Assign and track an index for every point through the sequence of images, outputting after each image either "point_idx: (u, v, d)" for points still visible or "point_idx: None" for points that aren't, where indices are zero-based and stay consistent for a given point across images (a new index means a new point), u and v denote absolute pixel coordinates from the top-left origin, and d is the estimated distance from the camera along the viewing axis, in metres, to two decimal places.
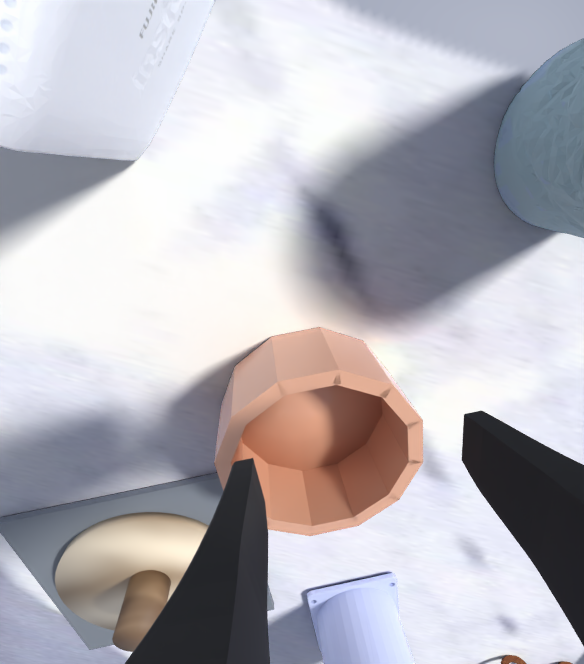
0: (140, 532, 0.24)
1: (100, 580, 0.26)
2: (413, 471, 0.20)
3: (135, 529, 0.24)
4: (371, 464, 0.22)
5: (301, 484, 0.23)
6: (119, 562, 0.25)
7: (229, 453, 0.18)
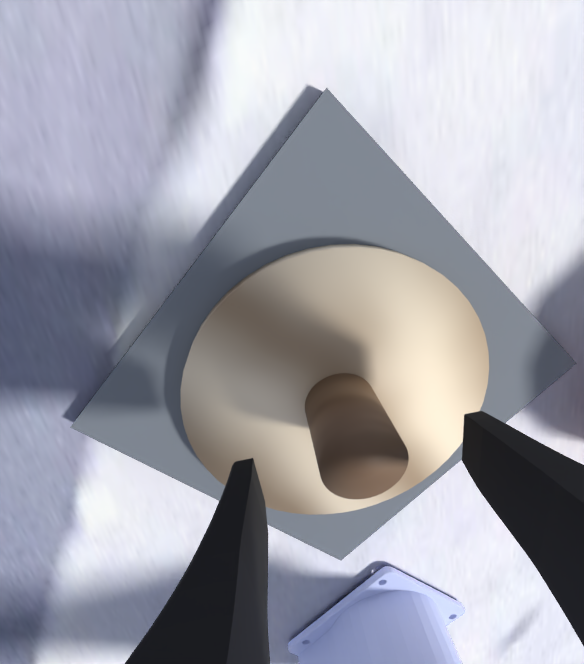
0: (452, 325, 0.14)
1: (306, 337, 0.13)
2: None
3: (456, 316, 0.14)
4: None
5: None
6: (367, 338, 0.14)
7: None
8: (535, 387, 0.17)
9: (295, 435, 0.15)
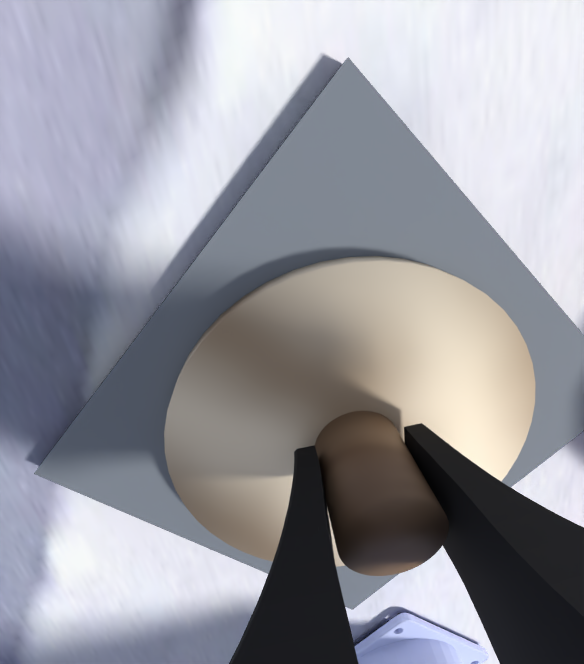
0: (494, 354, 0.12)
1: (318, 370, 0.11)
2: None
3: (499, 343, 0.11)
4: None
5: None
6: (391, 370, 0.11)
7: None
8: (583, 420, 0.14)
9: None
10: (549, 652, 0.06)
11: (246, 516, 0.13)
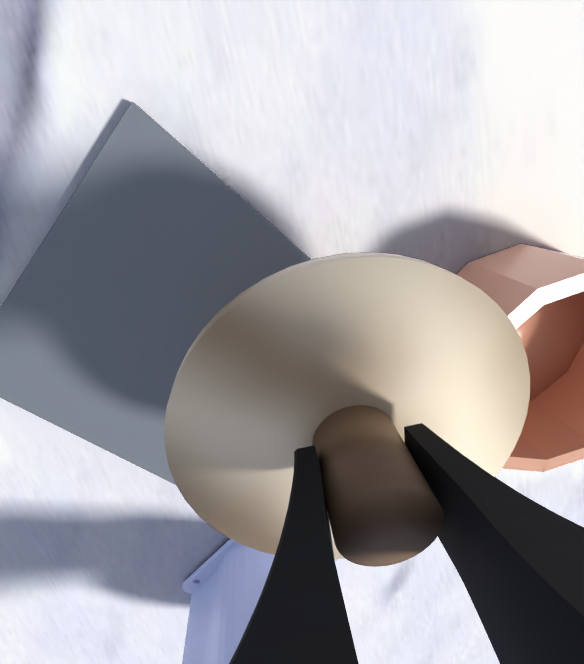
0: (489, 348, 0.12)
1: (315, 365, 0.11)
2: (582, 456, 0.19)
3: (493, 337, 0.12)
4: None
5: None
6: (387, 364, 0.11)
7: (556, 295, 0.15)
8: None
9: None
10: (549, 652, 0.06)
11: (246, 510, 0.13)
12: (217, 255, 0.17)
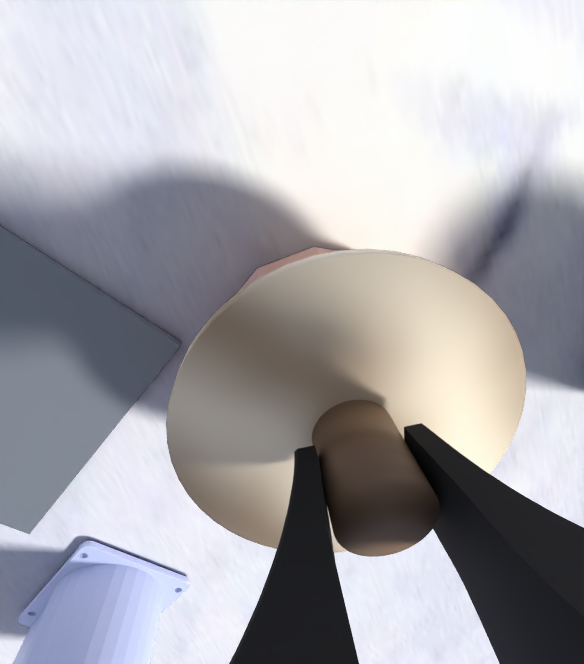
0: (485, 342, 0.12)
1: (313, 360, 0.11)
2: None
3: (489, 332, 0.12)
4: None
5: None
6: (384, 359, 0.12)
7: None
8: (148, 369, 0.18)
9: None
10: (549, 652, 0.06)
11: (247, 504, 0.14)
12: None
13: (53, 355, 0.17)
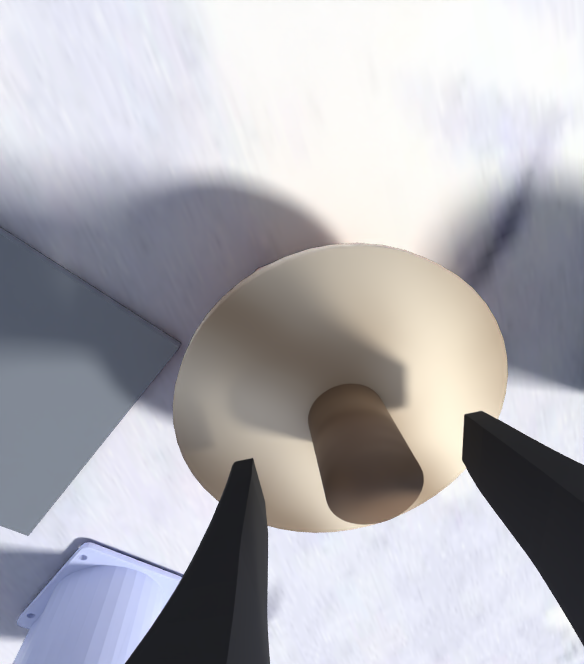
0: (467, 330, 0.13)
1: (308, 346, 0.12)
2: None
3: (471, 320, 0.13)
4: None
5: None
6: (375, 345, 0.13)
7: None
8: (147, 370, 0.18)
9: (298, 450, 0.14)
10: None
11: None
12: None
13: (52, 356, 0.17)
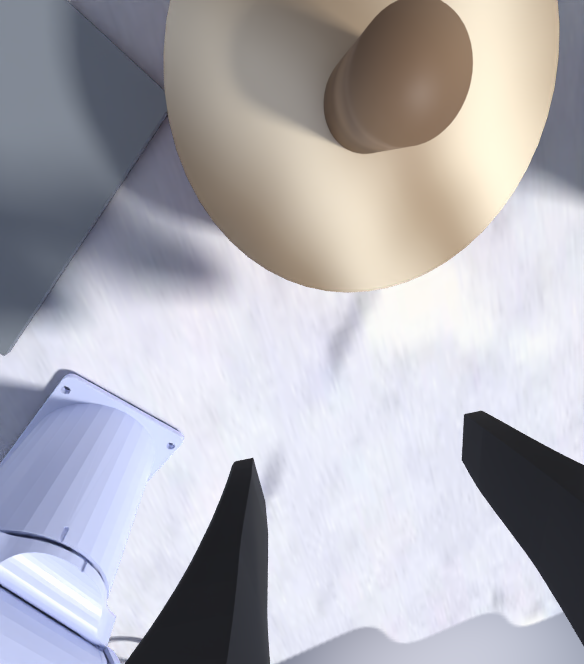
0: None
1: None
2: None
3: None
4: None
5: None
6: None
7: None
8: (137, 129, 0.16)
9: (311, 152, 0.12)
10: None
11: (251, 200, 0.13)
12: None
13: (28, 98, 0.15)
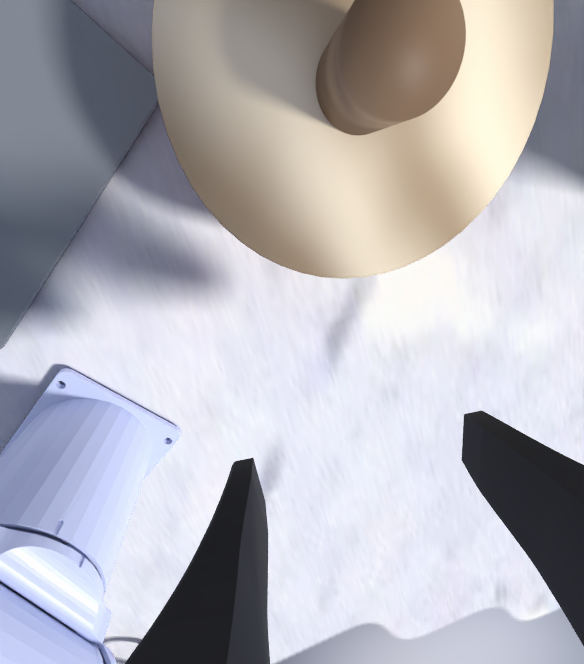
0: None
1: None
2: None
3: None
4: None
5: None
6: None
7: None
8: (129, 118, 0.16)
9: (303, 134, 0.12)
10: None
11: (243, 184, 0.12)
12: None
13: (17, 87, 0.15)
